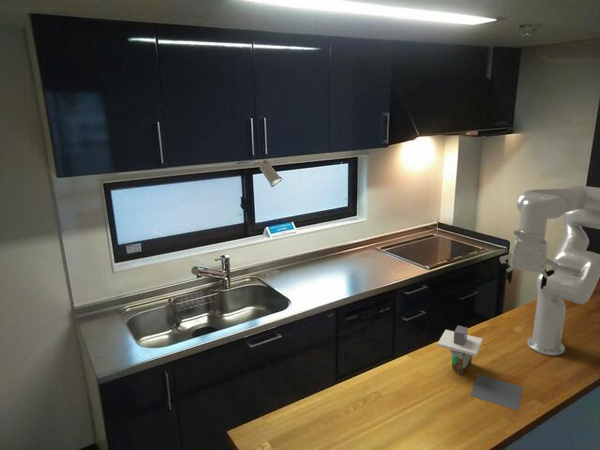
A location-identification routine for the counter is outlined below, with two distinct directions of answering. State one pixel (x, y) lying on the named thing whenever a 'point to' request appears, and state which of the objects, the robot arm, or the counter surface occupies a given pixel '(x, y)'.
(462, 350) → the lid
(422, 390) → the counter surface
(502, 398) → the mat
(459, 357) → the food container
